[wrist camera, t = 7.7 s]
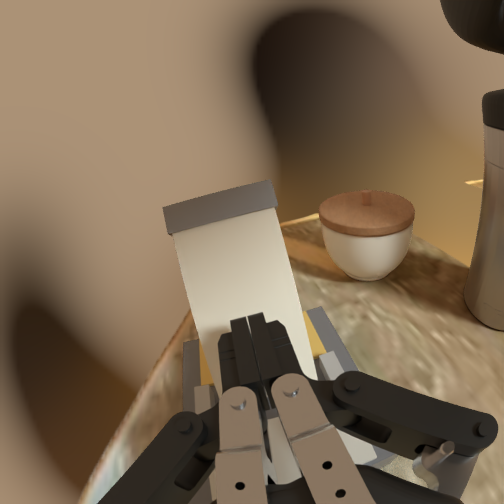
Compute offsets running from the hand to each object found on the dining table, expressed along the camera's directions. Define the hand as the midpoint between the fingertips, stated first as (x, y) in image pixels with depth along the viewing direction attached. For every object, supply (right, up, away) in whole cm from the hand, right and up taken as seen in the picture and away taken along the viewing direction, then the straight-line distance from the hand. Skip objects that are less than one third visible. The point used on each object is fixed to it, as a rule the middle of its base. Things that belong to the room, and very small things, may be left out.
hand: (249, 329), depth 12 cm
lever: (+1, -5, +3) cm, 6 cm away
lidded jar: (+14, +2, +19) cm, 23 cm away
